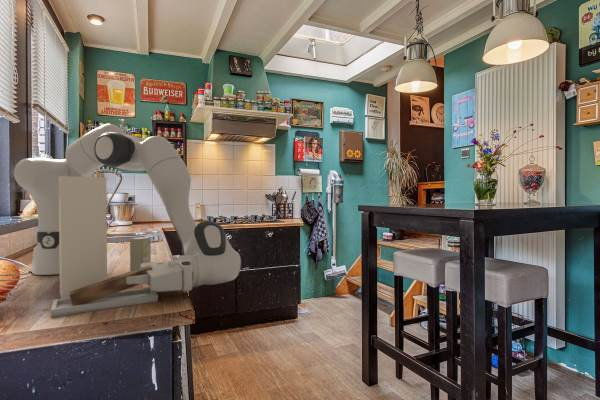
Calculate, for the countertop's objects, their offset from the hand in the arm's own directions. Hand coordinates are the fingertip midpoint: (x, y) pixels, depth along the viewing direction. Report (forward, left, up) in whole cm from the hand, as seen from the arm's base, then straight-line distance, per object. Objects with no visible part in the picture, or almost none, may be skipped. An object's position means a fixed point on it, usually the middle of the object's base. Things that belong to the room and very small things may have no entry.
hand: (125, 278), depth 87 cm
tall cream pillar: (-8, -14, -6) cm, 17 cm away
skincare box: (-32, -7, -6) cm, 34 cm away
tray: (+2, -4, -6) cm, 7 cm away
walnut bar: (+1, -2, -3) cm, 4 cm away
